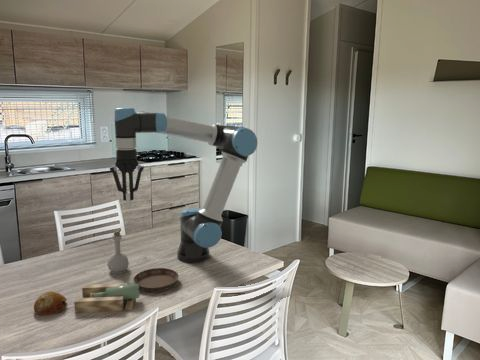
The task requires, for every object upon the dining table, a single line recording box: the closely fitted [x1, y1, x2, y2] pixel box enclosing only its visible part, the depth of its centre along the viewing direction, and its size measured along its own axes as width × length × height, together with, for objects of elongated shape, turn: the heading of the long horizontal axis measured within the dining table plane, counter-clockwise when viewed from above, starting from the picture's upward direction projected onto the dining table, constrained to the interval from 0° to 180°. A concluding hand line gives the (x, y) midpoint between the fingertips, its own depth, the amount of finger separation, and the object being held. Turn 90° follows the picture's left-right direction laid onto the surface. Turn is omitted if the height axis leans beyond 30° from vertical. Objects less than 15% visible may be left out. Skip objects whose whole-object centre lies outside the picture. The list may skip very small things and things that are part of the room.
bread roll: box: [33, 290, 68, 317], centre depth 143 cm, size 10×10×8 cm
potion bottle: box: [107, 230, 130, 275], centre depth 174 cm, size 9×9×18 cm
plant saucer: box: [132, 267, 180, 292], centre depth 164 cm, size 18×18×3 cm
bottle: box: [90, 283, 140, 301], centre depth 148 cm, size 5×5×17 cm
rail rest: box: [73, 282, 136, 314], centre depth 148 cm, size 19×13×4 cm
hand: (128, 208), depth 161 cm, fingers closed
